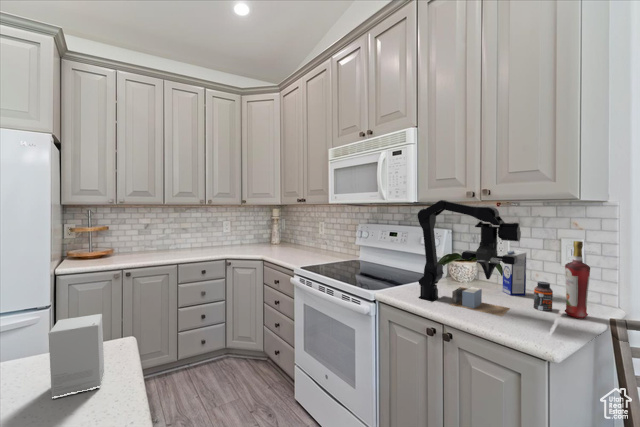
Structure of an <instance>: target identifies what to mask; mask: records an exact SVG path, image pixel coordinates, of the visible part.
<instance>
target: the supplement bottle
mask: <svg viewBox="0 0 640 427" xmlns="http://www.w3.org/2000/svg"><path fill="white" fill-rule="evenodd" d="M553 296H554V294H553V289H552V288H551V283H549V282H546V281H537V286H536V287H534V290H533V309H534V310H537V311H541V312H552V311H553V300H554V298H553Z"/></svg>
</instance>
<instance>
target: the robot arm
mask: <svg viewBox="0 0 640 427" xmlns="http://www.w3.org/2000/svg"><path fill="white" fill-rule="evenodd" d="M444 211H449V212H453V213H458V214H462V215H466V216H471V217H473V218H474V219H476V220H479V222H478V223H476V225H474V227H475V228H480V242H479V246H478V247H477V249H476V250H475V251H474V250H465V251H464V250H463V252H461V256H460V258H461V259H463V260H468V261H469V260H470V259H476V263H477V264H479V265H480V266H481V268H482V270H483V272H484V273H483V274H484V276H485V278H486V280H491V276H492V274H493V272H494V270H495V268H496V267H497V266H498V265H499V264H501V262H502V264H503V263H504V264H511V265H514V264H516V263H518V258H517V256H516V255H507V254H506V255H503V254H502V255H498V254H499V253H498V243H499V242H498V238H499V239H501V241H506V242H507V241H509V242H520V240H521V237H522V236H521V235H522V231H521V227H520V223H519V222H513V223H512V222H505V221H504V220H503V218H502V217H501V216H500V212H499V210H498V209H497V208H496V207H495V206H494V207H493V206H474V205H469V204H463V203H459V202H454V201H449V200H447V199H446V200H445V199H444V200H443V199H440V200H438V201H437V202H435V203H433V204H432V205H430V206H428V207H426V208H423V209H420V210H419V211H418V213H417V214H416V215H417V220H418V224H419V225H420V227H421V229H422V235H423V236H422V237H423V245H424V255H425V264H424V267H423V276H422V277H421V278H419V279H418V284H419V287H420V296H418V299H422V300H426V301H431V302H433V301H435V300H437V299H438V298H439V289H438V283H439V281H440V280H442V278H443V275H444V274H445V273H444V270H443V269H444V265H443V264H439V262H438V258H437V257H438V256H437V247H436V238H435V236H436V235H435V226H436V223H437V216H439V215H441V213H442V212H444Z"/></svg>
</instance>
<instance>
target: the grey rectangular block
mask: <svg viewBox="0 0 640 427" xmlns="http://www.w3.org/2000/svg"><path fill="white" fill-rule="evenodd" d="M467 288H468V289H466V290H464V291H463V292H462V306H464V307H469V308H473V309H474V308H476V307H477V306H479V305H480V304H481V303H483V300H482V291H483V289H482V288H478V287H472V286H470V287H467Z"/></svg>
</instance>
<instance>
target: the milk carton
mask: <svg viewBox="0 0 640 427" xmlns="http://www.w3.org/2000/svg"><path fill="white" fill-rule="evenodd" d="M506 254H507V255H516V256H517V258H518V263H516V264H514V265H511V264H504V263H503V262H502V292H503V293H504V294H507V295H509V296H511V297H512V296H513V297H514V296H517V297H518V296H520V297H521V296H523V297H525V296H526V292H527V290H526V289H527V286H526V284H527V254H528V253H527V251H523V250H518V249H517V250H508V251H507V252H506V253H503V254H502V256H503V255H506Z"/></svg>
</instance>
